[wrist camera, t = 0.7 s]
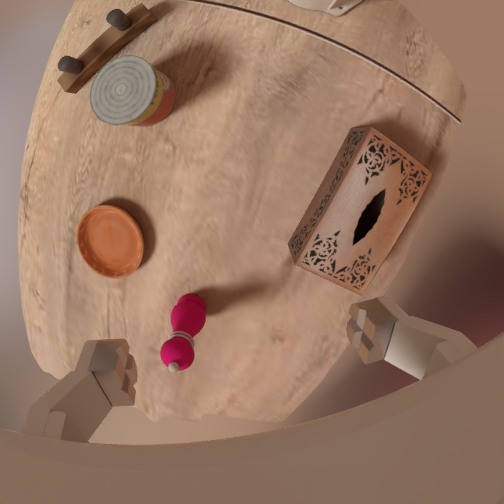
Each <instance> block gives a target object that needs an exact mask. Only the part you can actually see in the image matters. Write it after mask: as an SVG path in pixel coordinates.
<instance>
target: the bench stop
mask: <svg viewBox="0 0 504 504" xmlns="http://www.w3.org/2000/svg"><path fill="white" fill-rule="evenodd" d="M106 20H107V22H108V23H110V24H111V25H112V26H111V27H110V28H109V29H107V30H106V31H105V32H104V33H103V34H102V35H101V36H100V37H99V38H97V39H96V40H95V41H94V42H93V43H92V44H91V45H90V46H89V47H88V48H87V49H86V50H85V51H84V52H83V53H82V54H81V55H80V56H79V57H78V58H77V59H76V58H73V57H70V56H64V57H62V58H61V59H60V61H59V63H58V69H59V70H60V71H64V73H63V74H62V75H61V76H60V77H59V79H58V82H59V83H60V85H61V86H62V88H63V89H64V91H65V92H69V93H75V94H76V93H77V91H78V90H79V89H80V88H81V87H82V86H83V85H84V84H85V83H86V82H87V81H88V80H89V79H90V78H91V77H92V76H93V75H94V74H95V73H96V72H97V71H98V70H99V69H100V68H101V67H102V66H103V65H104V64H105V63H106V62H107V61H108V60H110V59H111V58H112V57H113V56H114V55H115V54H116V53H117V52H118V51H120V50H121V49H122V48H123V47H124V46H125V45H127V44H128V43H129V42H130V41H131V40H133V39H134V38H135V37H136V36H138V35H139V34H140V33H141V32H143V31H144V30H145V29H147V28H148V27H149V26H151V25H152V24H153V23H155V22H156V21H157V19H156V18H155V17H154V16H153V14H152V13H151V12H150V11H149V10H148V9H147V8H146V7H145V6H144V5H143V4H142V3H140V4H139V5H137V6H136V7H135V8H133V9H132V10H131V11H129V12H128V13H127V14H125V13H123V12H122V11H121V10H120V9H114V10H112V11H111V12H109V14H108V15H107V17H106Z"/></svg>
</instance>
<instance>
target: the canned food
mask: <svg viewBox="0 0 504 504" xmlns="http://www.w3.org/2000/svg"><path fill="white" fill-rule="evenodd" d="M175 98H176V91H175V87H174V84H173V82H172V81H171V79H170V78H169V77H168V76H167V75H165V74H164V73H162V72H160V71H159V70H158V69H156V68H155V67H153V66H152V65H150V64H149V63H148V62H147V61H146V60H144V59H143V58H140V57H138V56H131V55H128V56H122V57H118V58H116V59H114V60H112V61H110V62H109V63H107V64H106V65H105V66H104V67H103V68H102V69H101V70H100V71H99V72H98V74H97V75H96V77H95V79H94V81H93V83H92V86H91V90H90V104H91V108H92V110H93V112H94V114H95V115H96V116H97V118H98V119H100V120H101V121H102V122H104V123H107V124H110V125H130V126H139V127H148V126H152V125H155V124H157V123H159V122H161V121H162V120H163V119H165V118H166V117H167V115H168V114H169V113H170V111H171V110H172V108H173V106H174V103H175Z"/></svg>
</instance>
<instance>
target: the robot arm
mask: <svg viewBox="0 0 504 504" xmlns="http://www.w3.org/2000/svg"><path fill="white" fill-rule="evenodd" d="M288 1H290V2H291V3H293V4H295V5H297V6H300V7H303V8H306V9H311V10H320V11H325V12H327V13H329V14H331V15H334V16H342V15H343V14H344V13H346V12H347V11H349V10H350V9H351V8H353V7H354V6H356V5H357V4H359V3H360V2H362V1H363V0H288ZM339 7H340V8H342V9H340V8H339ZM349 314H350V315H351V319H350V320H349V321H348V322H347V329H346V330H347V337H348V339H349V341H350V343H351V344H352V346H354V347H357V348H358V354H359V356H360V357H361V358H362V360H363V361H364V363H365V364H369V363H372V362H375V361H378V360H381V359H384V360H386V361H388V362H389V363H391V364H393V365H395V366H397V367H399V368H400V369H402V370H404V371H406V372H407V373H409V374H411V375H413V376H415V377H417V378H418V379H420V381H418V382H416V383H413V384H411V385H409V386H407V387H405V388H402V389H400V390H398V391H396V392H393V393H391V394H388V395H386V396H383V397H381V398H378V399H376V400H373V401H371V402H368V403H365V404H363V405H360V406H357V407H354V408H352V409H348V410H346V411H343V412H340V413H336V414H333V415H330V416H327V417H324V418H320V419H316V420H313V421H309V422H305V423H302V424H298V425H294V426H290V427H286V428H281V429H277V430H272V431H267V432H262V433H257V434H251V435H246V436H240V437H234V438H226V439H219V440H211V441H202V442H191V443H178V444H158V445H118V444H98V443H89V442H88V440H89V439H90V437H91V436H92V435H93V433H94V432H95V431H96V429H97V428H98V426H99V425H100V424H101V422H102V421H103V420H104V418H105V417H106V415H107V414H108V413H109V412H110V410H111V409H112V406H132V405H134V403H135V394H136V390H135V388H134V386H133V385H134V384H135V383H136V382H137V366H136V363H135V360H134V357H133V356H132V355H130V354H129V348H130V347H129V345H128V343H127V340H125V339H106V340H87V341H86V342H85V343H84V346H83V349H82V351H81V354H80V357H79V360H78V362H77V365H76V368H75V371H71V372H70V373H68V374H67V375H66V376H65V377H64V378H63V379H61V380H60V381H59V382H58V383H57V384H56V385H55V386H53V387H52V388H51V389H50V390H49V391H48V392H47V393H45V394H44V395H43V396H42V397H41V398H40V399H38V400H37V401H36V402H35V403H34V404H33V405H32V406H31V407H30V408H29V411H28V414H27V417H26V420H25V423H24V426H23V429H22V432H21V433H20V432H16V431H12V430H7V429H4V428H0V504H504V332H503V333H501V334H500V335H498V336H497V337H495V338H494V339H492V340H491V341H489V342H488V343H486V344H485V345H483V346H482V347H480V348H477V347H476V346H475V345H474V344H473V343H472V342H470V340H469V339H468V338H466V337H465V336H464V335H463V334H462V333H461V332H459V331H456V330H453V329H450V328H446V327H444V326H440V325H438V324H435V323H431V322H428V321H426V320H423V319H420V318H416V317H414V316H410V317H409V316H408V315H407V314H406V313H405V312H404V311H403V310H402V309H400V308H399V307H398V306H397V305H396V304H395V303H394V302H393V301H392V300H391V299H390V298H389V297H388V296H385V295H384V296H380V297H377V298H374V299H371V300H367V301H362V302H358V303H354V304H352V305H351V306H350V310H349Z"/></svg>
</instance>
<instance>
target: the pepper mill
mask: <svg viewBox="0 0 504 504" xmlns="http://www.w3.org/2000/svg"><path fill="white" fill-rule="evenodd" d="M205 310H206V306H205V303H204V301H203V300H202V299H201V298H200V297H198V296H196V295H192V294H187V295H184V296H182V297H181V298H180V299H179V301H178V303H177V305H175V307H174V308H173V310H172V313H171V324H172V327H173V332H172V333H171V334H170V335H169V336H168V339H167V341H166V342H165V343H164V344H163V345H162V347H161V352H160V354H161V359H162V361H163V363H164V364H165V365H166V366H167V367H168V368H169V370H170V371H171V372H177V371H178V370H184V369H187V368H188V367H189V366H190V365H191V364H192V362H193V360H194V350H193V348H194V340H193V337H194V336H195V335H196V334H197V333H199V332H200V330H201V329H202V328H203V326H204V324H205V321H206V316H205Z"/></svg>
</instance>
